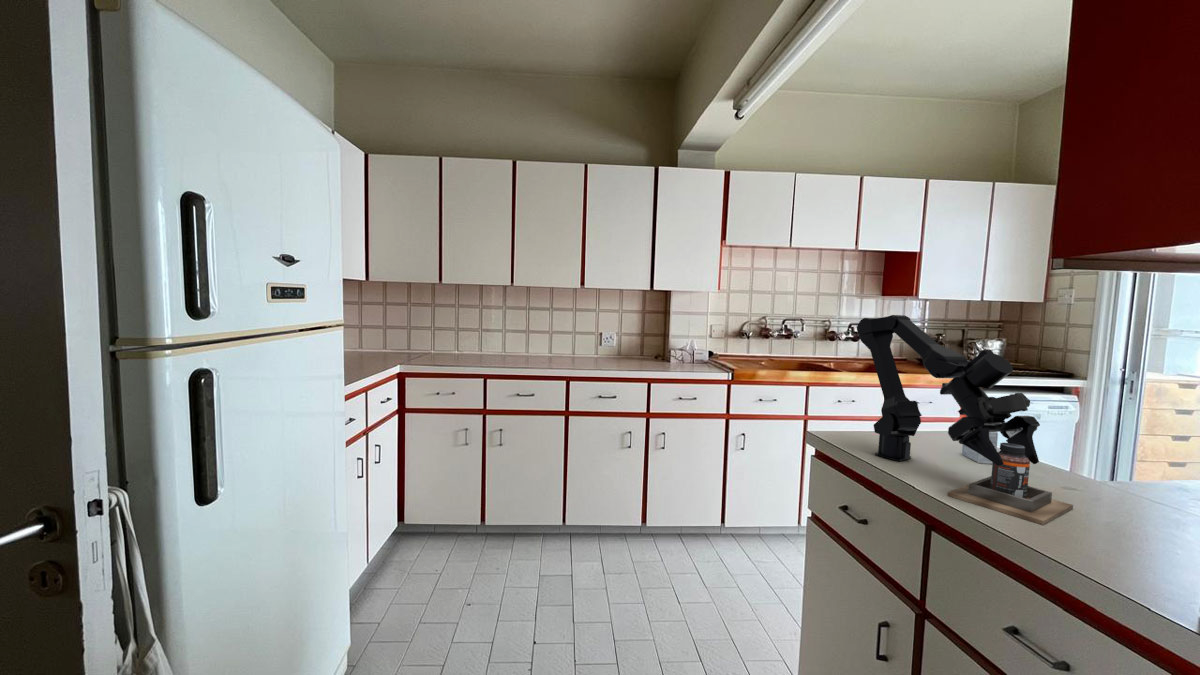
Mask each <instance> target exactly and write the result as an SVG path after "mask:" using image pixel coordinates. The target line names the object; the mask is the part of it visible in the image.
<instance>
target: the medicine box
mask: <svg viewBox="0 0 1200 675" xmlns="http://www.w3.org/2000/svg"><path fill="white" fill-rule="evenodd" d="M989 439H990V440H991V442H992V444H993V445H994V447H995V449H996V450H998V439H999V433H998V432H989ZM961 455H963V456H965V458H966V457H967V458H968V459H970V460H972V461H974V462H976V463H978V464H986V465H987V464H988V465H992V464H993V462H992V461H990V460H988V459H987V458H985V457H984V456H982V455H981V454H979V453H977V452H976V451H974V450H972V449H970V448H969V447H967V446H965V445H964V444H962V447H961Z"/></svg>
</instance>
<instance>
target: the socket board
mask: <svg viewBox="0 0 1200 675" xmlns="http://www.w3.org/2000/svg"><path fill="white" fill-rule="evenodd" d="M990 487H991V475H990V476H988V477H985V478H981V479H978V480H977V481H974V482H971V483H969V484H967V485H964V486H963V485H962V486H961V487H958V488H956V489H953V490H950V491H948V492H947V497H951V498H954V499H957V500H960V501H963V502H967V503H970V504H973V505H975V506H980V507H983V508H986V509H990V510H993V511H996V512H999V513H1003V514H1004V515H1005V514H1006V515H1009V516H1012V517H1016V518H1019V519H1022V520H1025V521H1028V522H1032V523H1035V524H1038V525H1042V526H1043V525H1046V524H1048V523H1050V522H1051V521H1052V520H1055V519H1057V518H1059V517H1060V516H1063V515H1064V514H1067V512H1069V511H1072V510H1073V509H1074V504H1071V503H1068V502H1064V501H1059V500H1057V499H1053V498H1052V497H1053V492H1052V491H1049V490H1045V489H1041V488H1037V487H1033V486H1029V485H1028V488H1027V497H1026V499H1025V498H1021V497H1018V496H1014V495H1011V494H1007V493H1003V492H1000V491H996V490H993V489H990Z"/></svg>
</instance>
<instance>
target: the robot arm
mask: <svg viewBox="0 0 1200 675" xmlns="http://www.w3.org/2000/svg"><path fill="white" fill-rule="evenodd" d="M856 326H857V327H856V332H857V334H858V336H859V339H860V342H861V343H862V344H863V345H864V346H865V347H866V348H867V349H868V350H869V351H870V353H871V354H870V355H871V357H872V361H873V364H874V368H875V371H876V374H877V375H876V376H877V379H878V381H879V385H880V389H881V391H882V396H883V398H884V400H883V403H882V406H881V411H880V412H881V417H880V419H878V420H877V421H876V422H875V423H874V424H873V432H874V433H876V434H878V435H879V436H878V449H877V450H878V451H877V452H874V455H875V456H877V455H879V456H878V457H881V456H882V457H881V458H884V457H886V458H885V459H888V458H889V459H888V460H892V461H895V460H896V461H895V462H901V461H905V460H910V459H912V456H911V445H912V442H910V436H911V437H914V436H915V435H916V433H917V431H918V429H919V427H920V425H921V424H922V419H921V417H922V416H923V414H922V412H920V409H919V403H918V402H917V400H910V399H909V398H908V397H907V396H906V394H905V390H904V387H903V384H902V381H901V378H900V374H899V371H898V367H897V365H896V361H895V358H894V356H893V351H892V348H891V344H892V341H893V339H894V334H896V335H897V336H898V338H900V339H901V340H902V341H903V342H905V343H906V344H907V345H908V346H909V347H910V348H911V349H912V350H913V351H915V353H916V354H917V355H918V356H919V357H921V359H922V364H923V367H924V368H925V369H926V370H927V372H928V373H929V374H930V375H931V376H932V377H933V378H935V379H951V380H950V381H948V382H942V384H941V388H940V390H939V394H940V395H941V396H942V395H944V396H945V395H950V396H952V397H953V399H954V400H955V401H956V404H957V405H958V406H959V408H960V409H959V410H957V412H958V414H959V415H960V416H963V417H961V418H960V419H958V420H957V421H956V422H954V423H953V424H951V425H950V426H948V429H947V434H948V436H949V437H950V439H951V440H952V441H953V442H958V443H959V444H960V445H963V444H964V445H965V446H967V447H969V448H970V449H972V450H974V451H976V452H977V453H979V454H981V455H982V456H984V457H985V458H987V459H988V460H990V461H992V462H993V463H995V464H996V465H998V466H1001V465H1003V464H1004V463H1003V461H1002V459H1001V457H1000V455H999V453H998V452H999V451H997V450H998V449H997V450H996V449H995V447H994V445H993V444H992V442H991V440H990V439H989V432H999V433H1000V434H1001V435H1002V437H1004V438H1005V439H1006V440H1005V441H1006V443H1013V444H1018V445H1022V446H1024V447H1025V453H1024V454H1025V456H1026V457H1027V458H1028V459H1029V460H1030V463H1032V464H1033V465H1036V464H1037V465H1038V463H1039V462H1040V461H1039V457H1038V452H1037V450H1036V447H1035V443H1034V439H1033V435H1034V433H1035V432H1036V431H1037V430H1038V428H1039V427H1040V425H1041V424H1040V423H1039V421H1038V420H1037V418H1035V416H1032V415H1015V416H1013V417H1012V413H1013V414H1014V413H1018V412H1026V411H1028V408H1029V407H1030V406H1031V400H1030V399H1029V398H1028V397H1027V396H1026V395H1025V394H1024V393H1023V392H1015V393H1010V394H1009V395H1003V396H999V397H996V396H995V397H994V396H988V395H987V393H986V392H985V390H984V389H991V388H993V387H994V386H996V385H997V384H998V383H1000V382H1001V381H1002V380H1004V378H1006V377H1007V376H1008V375H1010V374H1011V373H1012V372H1013V371H1014V366H1013V365H1012V364H1011V362H1010V361H1009V360H1008V359H1006V358H1004V357H1002V356H1001V355H999V354H997V353H994V352H993V350H992V349H982V350H981V351H979V353H978V354H977V355H976V356H975V357H974V358H973V359H972V360H968V359H967V358H966V357H965V355H962V354H961V353H959V352H957V351H956V350H953V349H951V348H948V347H945V346H942V345H940V343H938V342H936V340H934V339H933V338H932V337H930V335H928V334H927V333H926V332H925V331H924V330H922V329H921V328H920V327H919V326H918V325H916V323H914V322H913V321H912V320H911V319H910V317H909V316H907V315H904V314H891V315H888V316H884V317H873V318H872V317H864V318H861V320H860V321H859V322H858V323H857V325H856ZM983 388H984V389H983ZM1009 418H1010V419H1009ZM1008 419H1009V420H1008ZM1006 420H1008V421H1006Z"/></svg>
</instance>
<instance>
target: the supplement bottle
mask: <svg viewBox="0 0 1200 675" xmlns="http://www.w3.org/2000/svg"><path fill="white" fill-rule="evenodd" d="M999 450H1000V451H997V452H998V453H999V455H1000V457H1001V459H1002V461H1003V463H1004V464H1003V465H1001V466H998V465H996V464H995V463H993V464H991V466H992V467H991V475H990V476H991V487H990V489H993V490H996V491H1000V492H1003V493H1007V494H1011V495H1014V496H1018V497H1021V498H1025V499H1026V497H1027V488H1028V486H1029V477H1030V476H1029V475H1030V464H1031V462H1030V460H1029V459H1028V458H1027V457H1026V456H1025V454H1024V453H1025V447H1024V446H1022V445H1018V444H1013V443H1008V442H1000V444H999Z"/></svg>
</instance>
